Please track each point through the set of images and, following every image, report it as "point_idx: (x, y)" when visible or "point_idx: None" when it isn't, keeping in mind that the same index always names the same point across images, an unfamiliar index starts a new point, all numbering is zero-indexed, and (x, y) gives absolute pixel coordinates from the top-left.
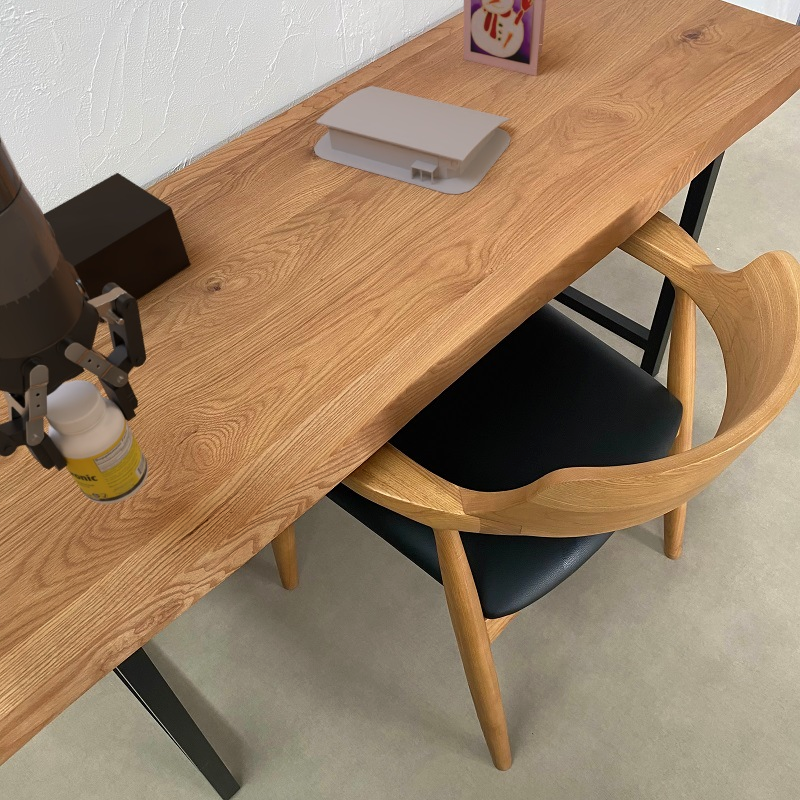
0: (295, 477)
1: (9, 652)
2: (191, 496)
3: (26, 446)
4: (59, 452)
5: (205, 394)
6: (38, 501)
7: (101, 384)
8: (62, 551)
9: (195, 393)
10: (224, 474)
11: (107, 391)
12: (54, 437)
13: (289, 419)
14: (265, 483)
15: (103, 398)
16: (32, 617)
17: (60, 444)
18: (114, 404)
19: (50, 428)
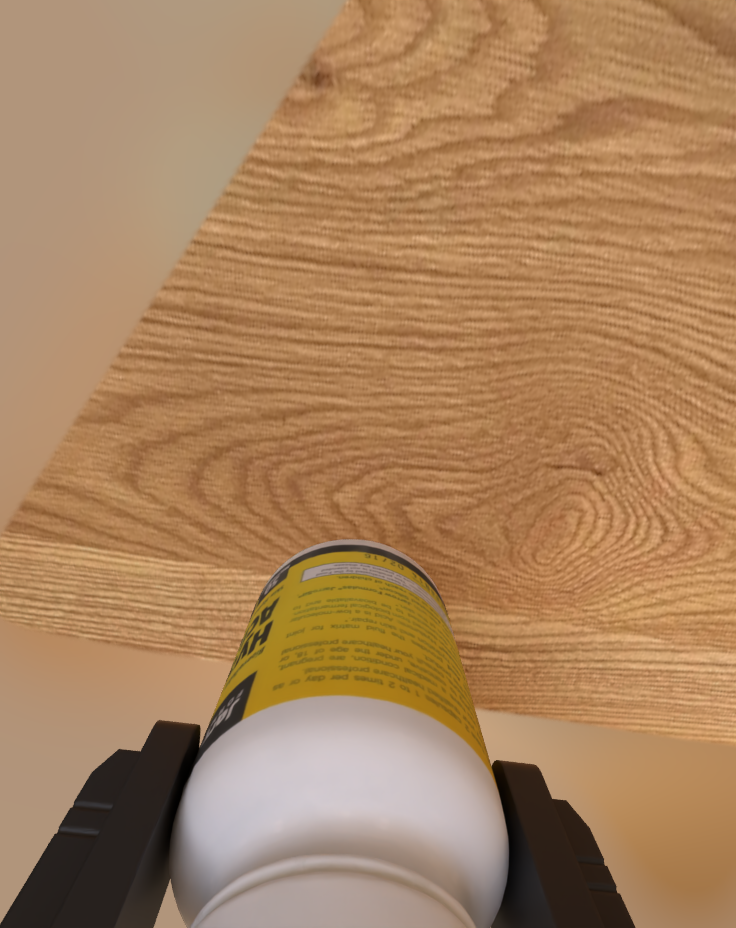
0: (594, 718)
1: (7, 535)
2: (454, 583)
3: (44, 854)
4: (155, 918)
5: (707, 413)
6: (253, 295)
7: (552, 920)
8: (204, 452)
9: (699, 388)
10: (533, 603)
11: (533, 923)
12: (185, 874)
13: (719, 625)
14: (554, 682)
15: (492, 889)
16: (76, 516)
17: (181, 907)
18: (494, 918)
19: (209, 819)
